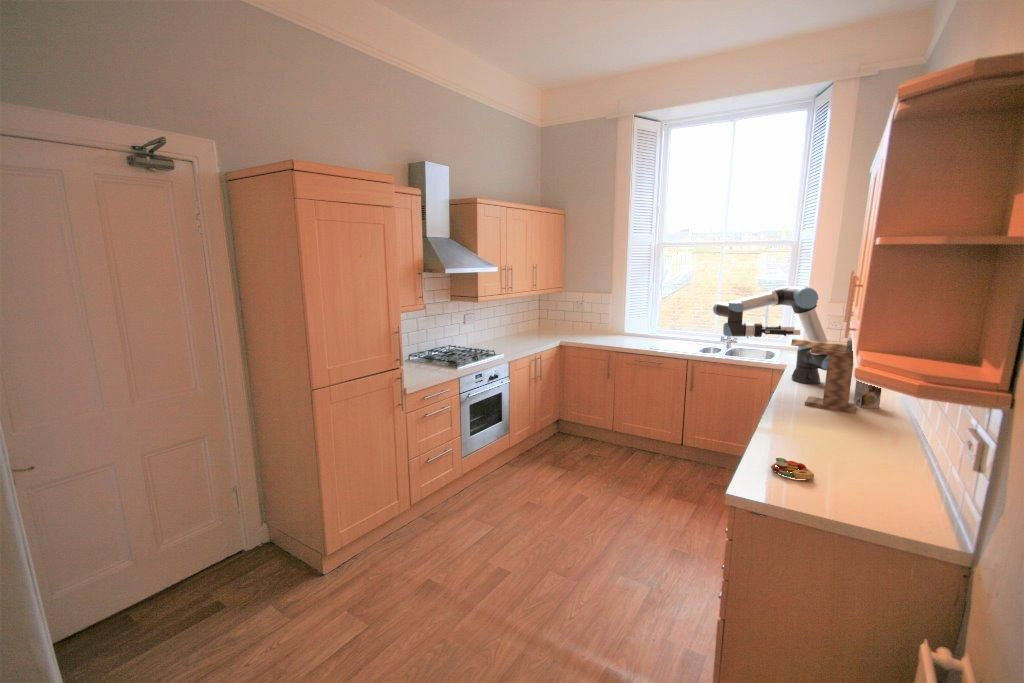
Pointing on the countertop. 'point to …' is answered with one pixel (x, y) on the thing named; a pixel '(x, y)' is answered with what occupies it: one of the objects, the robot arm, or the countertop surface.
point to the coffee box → (867, 395)
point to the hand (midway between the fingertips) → (797, 331)
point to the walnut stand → (835, 382)
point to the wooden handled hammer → (824, 345)
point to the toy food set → (792, 469)
